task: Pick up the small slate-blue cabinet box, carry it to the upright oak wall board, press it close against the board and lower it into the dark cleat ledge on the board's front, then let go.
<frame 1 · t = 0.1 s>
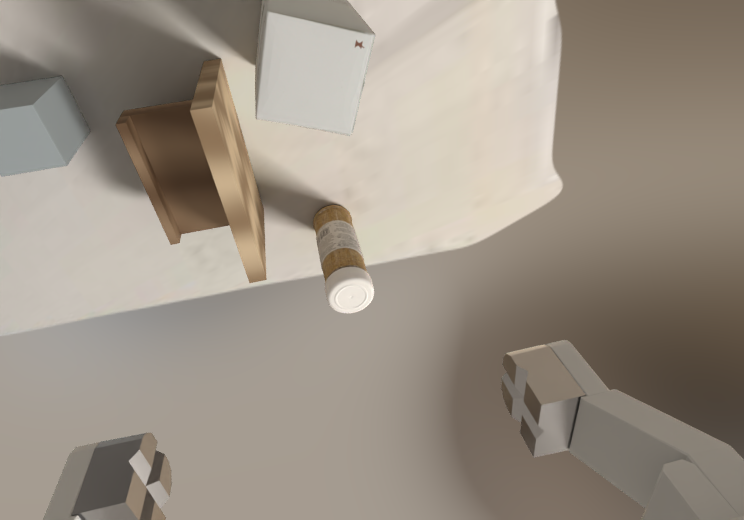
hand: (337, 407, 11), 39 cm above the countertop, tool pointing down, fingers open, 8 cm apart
wall board: (237, 143, 46), on the countertop
cabinet box: (47, 109, 41), on the countertop
supplement box: (299, 33, 41), on the countertop
sprinkles bottle: (332, 219, 54), on the countertop
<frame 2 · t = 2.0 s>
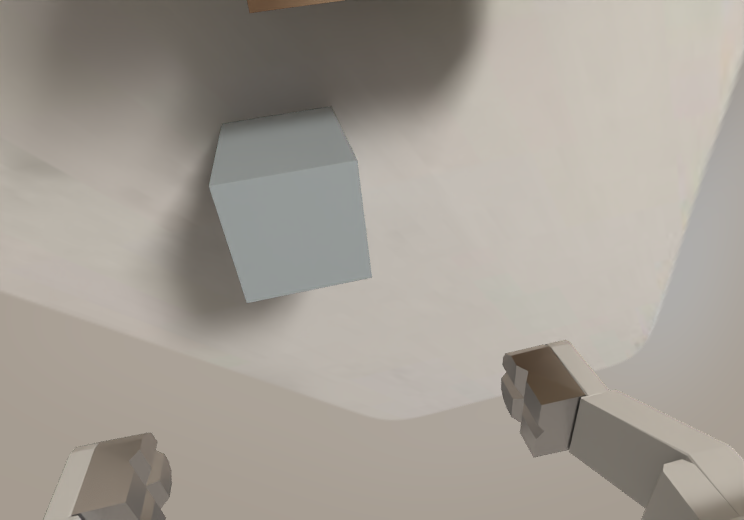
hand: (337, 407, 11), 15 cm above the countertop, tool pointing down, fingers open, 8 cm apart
cabinet box: (288, 165, 23), on the countertop
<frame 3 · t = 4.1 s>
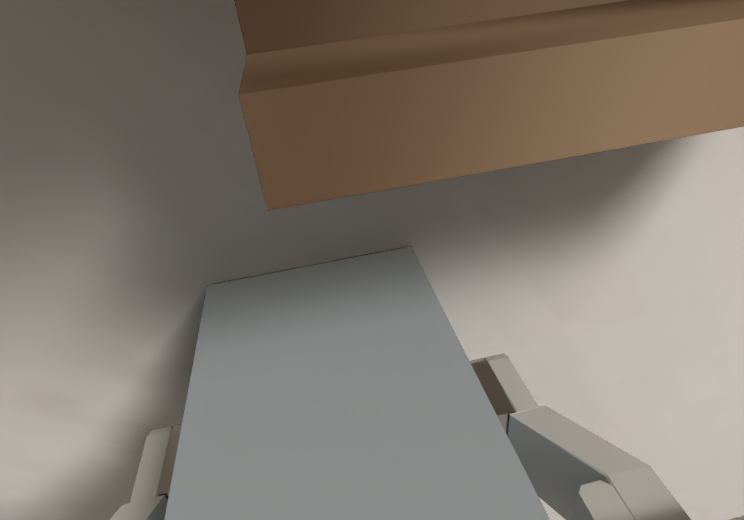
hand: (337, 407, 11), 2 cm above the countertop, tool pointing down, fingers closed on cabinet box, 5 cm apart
cabinet box: (327, 340, 13), on the countertop, touching gripper
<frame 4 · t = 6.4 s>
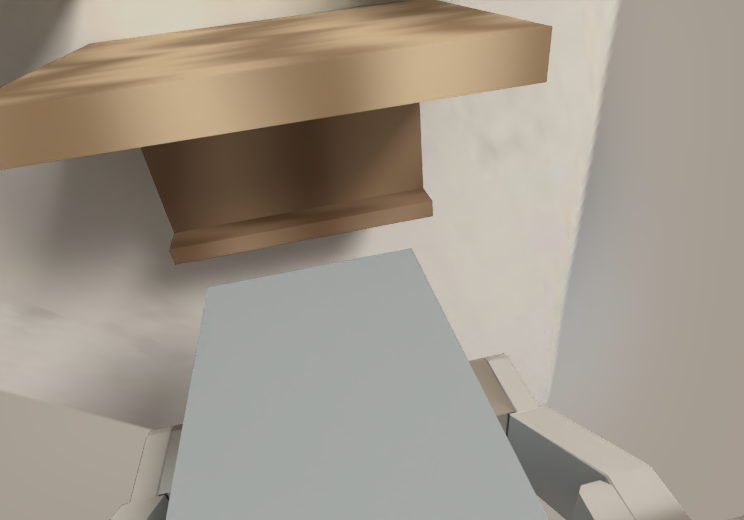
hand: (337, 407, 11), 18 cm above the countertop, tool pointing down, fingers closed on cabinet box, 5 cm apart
wall board: (268, 37, 23), on the countertop
cabinet box: (327, 342, 13), point 16 cm above the countertop, touching gripper
when the fingers open (8 cm above the countertop, at t = 8.9 s): cabinet box stays where it is, resting on wall board.
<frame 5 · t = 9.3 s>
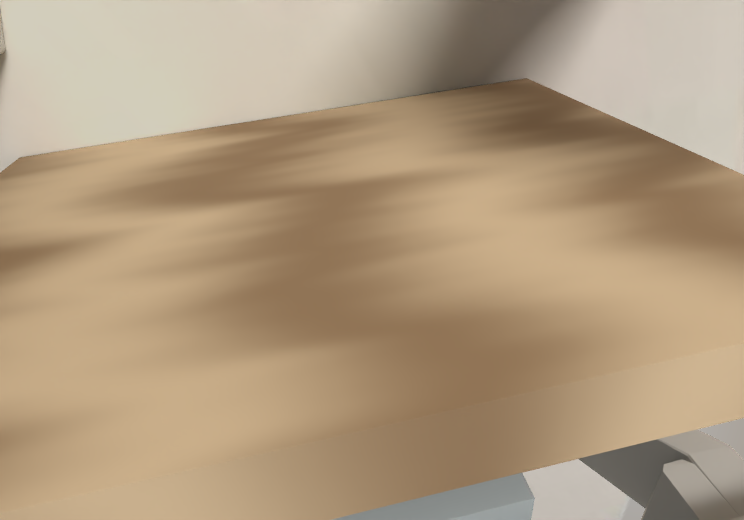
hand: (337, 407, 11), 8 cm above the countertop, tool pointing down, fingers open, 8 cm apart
wall board: (291, 138, 15), on the countertop
cabinet box: (324, 330, 13), point 5 cm above the countertop, touching wall board
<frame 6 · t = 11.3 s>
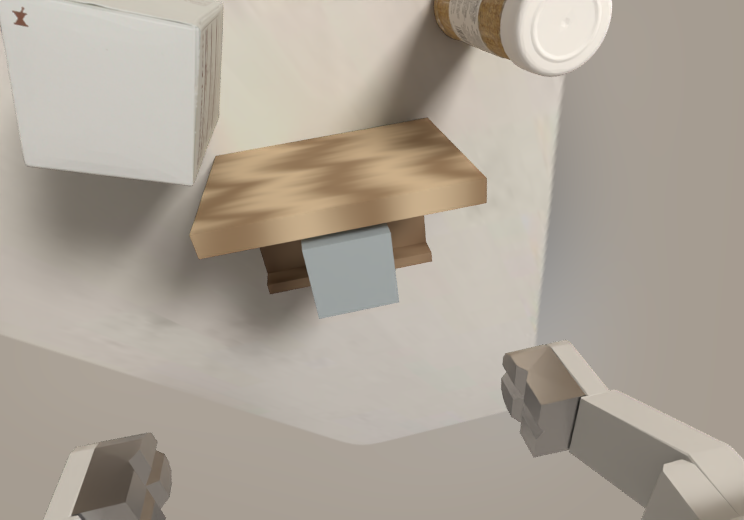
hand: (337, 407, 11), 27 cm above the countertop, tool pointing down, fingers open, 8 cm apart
wall board: (325, 146, 35), on the countertop
cabinet box: (340, 222, 33), point 5 cm above the countertop, touching wall board
supplement box: (165, 51, 30), on the countertop
sprinkles bottle: (463, 2, 32), on the countertop
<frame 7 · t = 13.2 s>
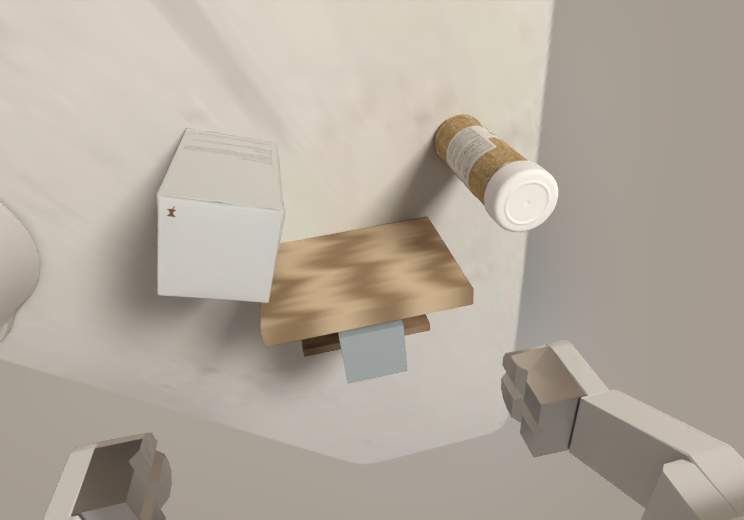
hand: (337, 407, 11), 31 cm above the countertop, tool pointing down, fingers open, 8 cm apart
wall board: (347, 238, 45), on the countertop
cabinet box: (360, 301, 43), point 5 cm above the countertop, touching wall board
supplement box: (230, 175, 39), on the countertop
sprinkles bottle: (456, 138, 41), on the countertop
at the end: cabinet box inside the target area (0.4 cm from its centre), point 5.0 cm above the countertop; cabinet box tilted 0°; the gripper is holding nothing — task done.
